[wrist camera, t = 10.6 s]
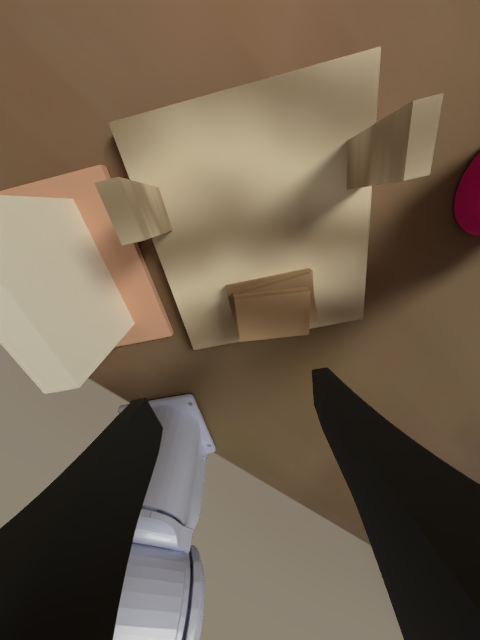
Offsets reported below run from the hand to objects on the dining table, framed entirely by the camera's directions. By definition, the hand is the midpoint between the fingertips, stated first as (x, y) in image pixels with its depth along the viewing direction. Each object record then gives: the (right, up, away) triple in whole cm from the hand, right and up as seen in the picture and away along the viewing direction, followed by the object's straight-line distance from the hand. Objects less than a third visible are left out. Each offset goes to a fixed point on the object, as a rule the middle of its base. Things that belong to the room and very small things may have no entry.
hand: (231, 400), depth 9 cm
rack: (+2, +9, +6) cm, 11 cm away
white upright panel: (-10, +7, +6) cm, 14 cm away
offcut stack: (+3, +5, +7) cm, 9 cm away
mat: (-10, +7, +7) cm, 14 cm away
